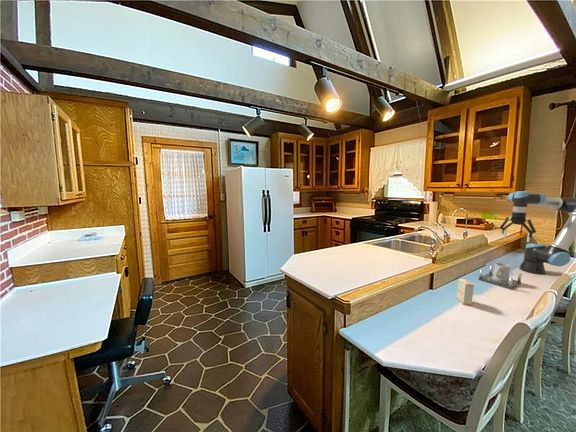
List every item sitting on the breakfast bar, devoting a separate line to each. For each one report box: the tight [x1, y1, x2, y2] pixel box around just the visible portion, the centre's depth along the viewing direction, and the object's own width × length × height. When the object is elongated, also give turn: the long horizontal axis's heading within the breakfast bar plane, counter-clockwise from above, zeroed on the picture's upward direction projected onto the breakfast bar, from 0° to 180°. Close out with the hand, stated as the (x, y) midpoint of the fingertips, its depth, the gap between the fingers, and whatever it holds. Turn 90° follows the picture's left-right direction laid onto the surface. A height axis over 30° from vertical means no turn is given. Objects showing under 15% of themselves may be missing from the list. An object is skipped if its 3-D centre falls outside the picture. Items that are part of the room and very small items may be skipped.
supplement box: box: [456, 278, 475, 306], centre depth 148 cm, size 8×5×13 cm, turn 168°
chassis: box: [477, 265, 523, 290], centre depth 179 cm, size 19×19×8 cm
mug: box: [493, 262, 511, 281], centre depth 178 cm, size 12×8×11 cm
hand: (515, 239), depth 184 cm, fingers open, 13 cm apart
